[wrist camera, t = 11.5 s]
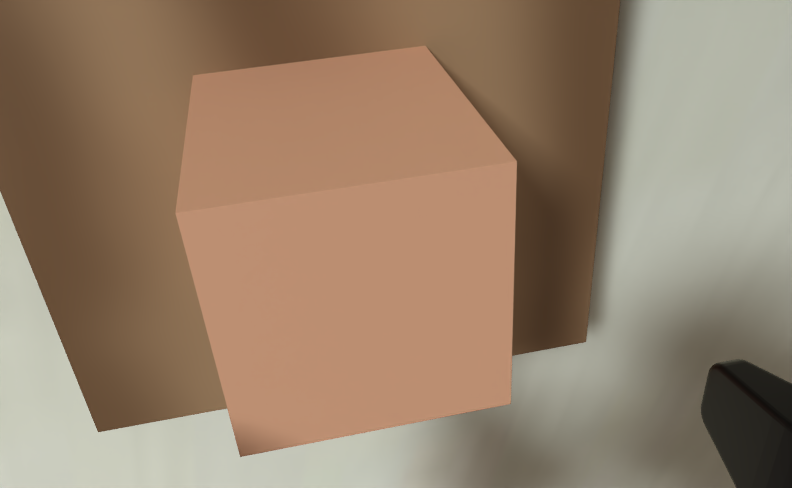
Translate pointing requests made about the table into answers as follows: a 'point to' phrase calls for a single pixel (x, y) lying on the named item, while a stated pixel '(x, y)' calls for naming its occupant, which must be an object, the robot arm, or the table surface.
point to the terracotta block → (348, 245)
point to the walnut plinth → (164, 142)
